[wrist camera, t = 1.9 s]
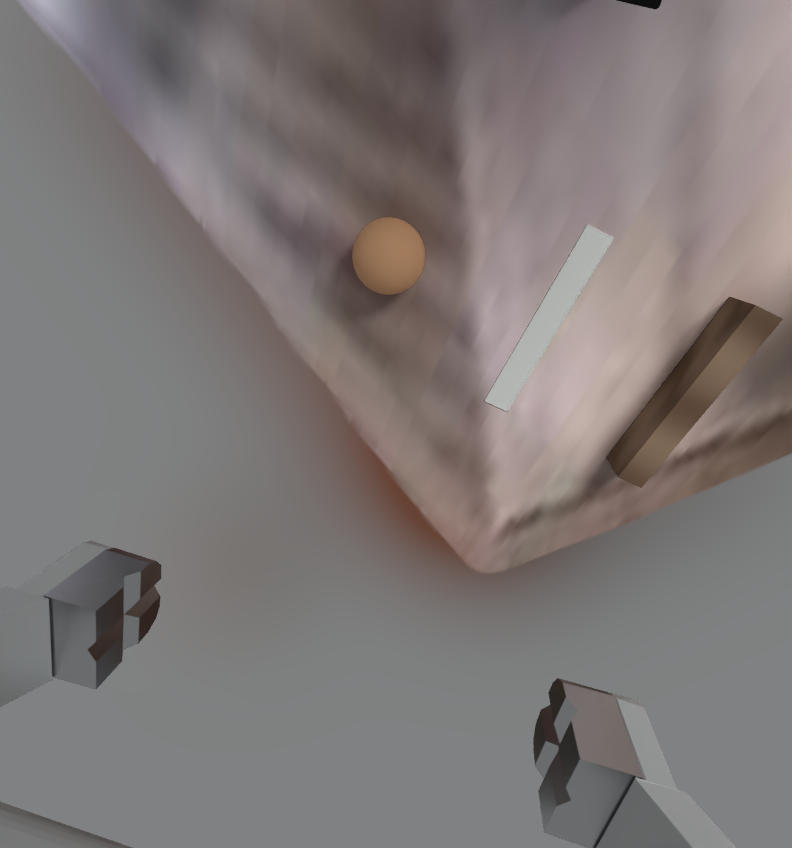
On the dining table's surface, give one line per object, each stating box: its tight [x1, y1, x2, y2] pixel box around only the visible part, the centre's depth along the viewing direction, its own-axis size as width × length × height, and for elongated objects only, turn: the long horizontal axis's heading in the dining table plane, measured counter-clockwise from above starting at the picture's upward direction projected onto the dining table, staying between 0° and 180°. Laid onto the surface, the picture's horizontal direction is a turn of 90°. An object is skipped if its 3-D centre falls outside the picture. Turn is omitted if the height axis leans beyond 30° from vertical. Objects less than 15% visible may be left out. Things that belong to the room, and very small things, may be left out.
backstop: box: [606, 297, 783, 488], centre depth 33 cm, size 14×2×3 cm, turn 156°
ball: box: [352, 217, 425, 295], centre depth 31 cm, size 5×5×5 cm
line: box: [484, 225, 614, 411], centre depth 34 cm, size 14×2×1 cm, turn 156°
